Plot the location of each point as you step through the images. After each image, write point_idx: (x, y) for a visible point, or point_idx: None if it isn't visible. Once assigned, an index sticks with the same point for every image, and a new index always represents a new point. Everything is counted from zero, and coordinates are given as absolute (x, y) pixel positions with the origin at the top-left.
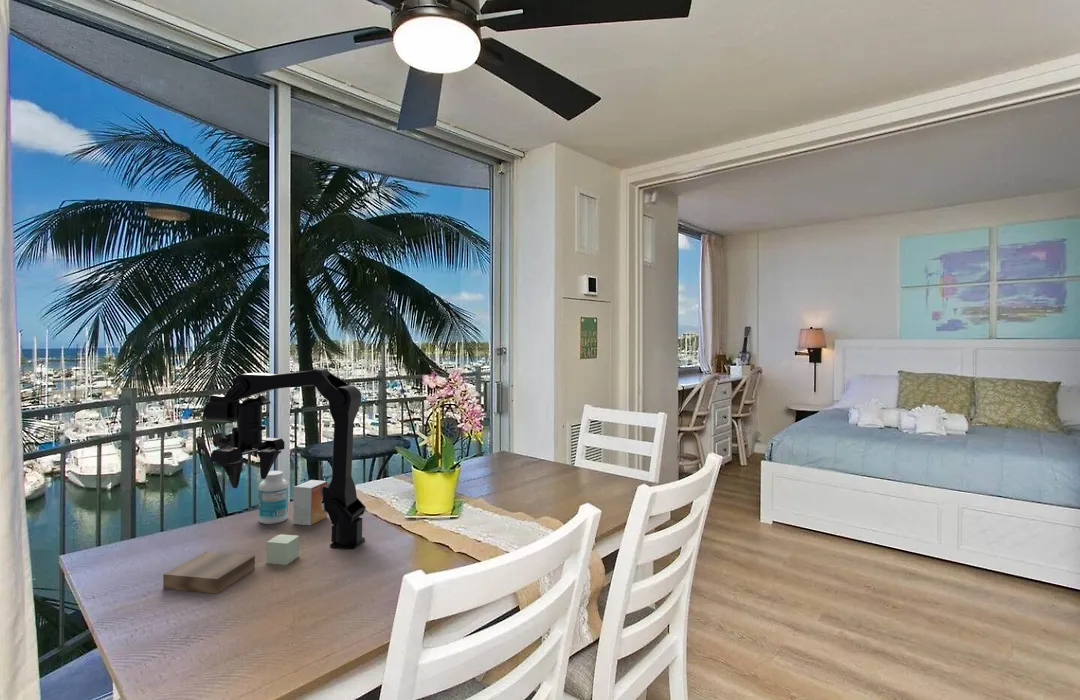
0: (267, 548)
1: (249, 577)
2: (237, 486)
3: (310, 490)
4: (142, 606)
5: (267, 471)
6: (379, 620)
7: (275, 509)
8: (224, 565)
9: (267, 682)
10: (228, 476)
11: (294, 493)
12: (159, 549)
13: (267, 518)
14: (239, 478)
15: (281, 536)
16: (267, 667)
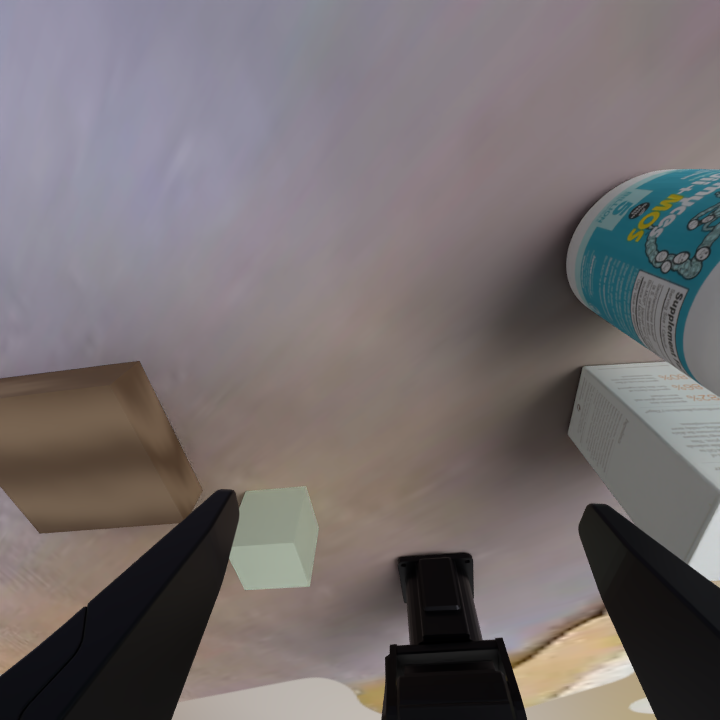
0: None
1: None
2: (231, 532)
3: None
4: None
5: (623, 634)
6: (184, 696)
7: (614, 323)
8: (93, 499)
9: (4, 666)
10: (100, 598)
11: (682, 465)
12: (99, 8)
13: (575, 277)
14: (196, 639)
15: (280, 555)
16: (18, 656)
